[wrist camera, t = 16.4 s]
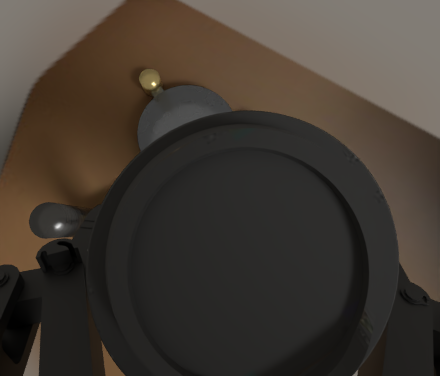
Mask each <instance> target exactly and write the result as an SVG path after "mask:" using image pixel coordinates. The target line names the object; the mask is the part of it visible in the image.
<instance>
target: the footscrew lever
mask: <svg viewBox="0 0 440 376" xmlns="http://www.w3.org/2000/svg"><path fill="white" fill-rule="evenodd" d="M91 210H92V209H90V208H83V207H77V206H70V205H64V204H57V203H51V202H47V203H43V204H40V205H38V206H37V207H36V208H35V209H34V210H33V211H32V213H31V215H30V219H29V225H30V228H31V230H32V232H33V233H34V234H35V235H36V236H38V237H40V238H62V237H74V236H75V234H76V233H77V231H78V229H80V226H81V225H82V223H83V222H84V220H85V218H86V216H87V215H88V213H89V212H90V211H91Z"/></svg>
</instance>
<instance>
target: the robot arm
mask: <svg viewBox="0 0 440 376" xmlns="http://www.w3.org/2000/svg"><path fill="white" fill-rule="evenodd" d="M100 207H101V205H97V206H96V207H95V208H93V209H92V210H91V211H90V212H89V213H88V215H87V216H86V218H85V220H84V222H83V223H82V225H81V226H80V229H78V231H77V233H76V234H75V236H74V237H73V239H72V240H71V239H65V238H64V239H57V240H54V241H51V242H49V243H47V244H46V245H44V246H43V247H42V248H41V249H40V250H39V251H38V253H37V256H36V259H37V261H38V263H39V265H40V267H41V268H39V269H34V270H28V271H23V272H19V270H18V268H17V267H15V266H13V265H1V266H0V376H23V374H24V371H25V368H26V364H27V361H28V358H29V355H30V352H31V349H32V346H33V343H34V339H35V336H36V333H37V329H38V327H39V324H40V322H41V338H40V361H39V376H105V368H104V360H103V351H102V343H101V338H100V336H99V334H98V331H97V329H96V326H95V323H94V320H93V317H92V314H91V310H90V305H89V300H88V294H87V285H86V262H87V252H88V245H89V240H90V236H91V232H92V228H93V225H94V222H95V219H96V216H97V214H98V211H99V209H100ZM357 376H440V302H437V301H434V300H432V299H430V297H429V296H428V294H427V293H426V292H425V291H424V290H423V289H422V288H420V287H419V286H417V285H415V284H414V283H411V282H410V281H409V279H408V277H407V275H406V274H405V272H404V270H403V268H402V266H401V264H400V263H399V274H398V284H397V290H396V295H395V299H394V303H393V307H392V310H391V313H390V316H389V319H388V322H387V324H386V326H385V329H384V331H383V333H382V335H381V337H380V339H379V340H378V342H377V344H376V346H375V347H374V349H373V350H372V352H371V353H370V355H369V356H368V358H367V359H366V360H365V362H364V363H363V364H362V365H361V367H360V368H359V369H358V375H357Z"/></svg>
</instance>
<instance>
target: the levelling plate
mask: <svg viewBox="0 0 440 376" xmlns="http://www.w3.org/2000/svg"><path fill="white" fill-rule="evenodd" d="M139 81H140V83H141V85H142V87H143V89H144V91H145V93H146V94H148V95H149V96H153V97H154V99H152V100H151V101H150V103H149V104H148V105H147V106H146V108H145V109H144V111H143V113H142V115H141V117H140V121H139V124H138V144H139V147H140V150H141V151H142V150H144V149H145V148H146V147H147V146H148V145H150V144H151V143H152V142H154V141H155V140H157V139H158V138H159V137H161V136H163V135H164V134H166V133H167V132H169V131H171V130H173V129H175V128H177V127H179V126H181V125H183V124H185V123H188V122H190V121H193V120H196V119H199V118H202V117H205V116H209V115H213V114H218V113H224V112H232V110H231V108H230V107H229V105H228V104H227V103H226V102H225V100H224V99H222V98H221V97H220V96H219V95H218V94H216V93H215V92H213V91H211V90H209V89H206V88H204V87H200V86H194V85H183V86H177V87H173V88H170V89H168V90H165V91H164V90H163V84H162V82H161V79H160V77H159V74H158V73H157V71H155V70H153V69H146V70H144V71H142V72H141V74H140V76H139Z"/></svg>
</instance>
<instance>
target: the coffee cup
mask: <svg viewBox="0 0 440 376" xmlns="http://www.w3.org/2000/svg"><path fill="white" fill-rule="evenodd" d="M398 274H399V251H398V241H397V235H396V230H395V225H394V221H393V218H392V215H391V212H390V209H389V206H388V204H387V201H386V199H385V197H384V195H383V193H382V191H381V189H380V187H379V185H378V184H377V182H376V180H375V179H374V177H373V176H372V174H371V173H370V172H369V170H368V169H367V168H366V166H365V165H364V164H363V163H362V162H361V161H360V160H359V158H358V157H357V156H356V155H355V154H354V153H353V152H352V151H351V150H349V149H348V148H347V147H346V146H345V145H344V144H342V143H341V142H340V141H339V140H337V139H336V138H334V137H333V136H331V135H330V134H328V133H327V132H325V131H323V130H321V129H320V128H318V127H316V126H314V125H312V124H309V123H307V122H305V121H302V120H299V119H296V118H293V117H290V116H286V115H282V114H277V113H272V112H264V111H232V112H224V113H218V114H213V115H209V116H205V117H202V118H199V119H196V120H193V121H190V122H188V123H185V124H183V125H181V126H179V127H177V128H175V129H173V130H171V131H169V132H167V133H166V134H164V135H163V136H161V137H159V138H158V139H157V140H155V141H154V142H152V143H151V144H150V145H148V146H147V147H146V148H145V149H144V150H142V151H141V152H140V153H139V154H138V155H137V156H136V157H135V158H134V159H133V160H132V161H131V162H130V163H129V164H128V165H127V166H126V167H125V169H124V170H123V171H122V172H121V174H120V175H119V176H118V178H117V179H116V180H115V182H114V183H113V185H112V186H111V188H110V190H109V191H108V193H107V195H106V197H105V198H104V200H103V202H102V204H101V207H100V209H99V211H98V214H97V216H96V219H95V222H94V225H93V228H92V232H91V236H90V240H89V245H88V252H87V262H86V285H87V294H88V300H89V305H90V310H91V314H92V317H93V320H94V323H95V326H96V329H97V331H98V334H99V336H100V338H101V340H102V342H103V344H104V346H105V348H106V350H107V351H108V353H109V355H110V356H111V357H112V359H113V361H114V362H115V363H116V365H117V366H118V367H119V369H120V370H121V371H122V372H123V373H124V374H125V376H352V375H353V374H354V373H355V372H356V371H357V370H358V369H359V368H360V367H361V365H362V364H363V363H364V362H365V360H366V359H367V358H368V356H369V355H370V353H371V352H372V350H373V349H374V347H375V346H376V344H377V342H378V340H379V339H380V337H381V335H382V333H383V331H384V329H385V326H386V324H387V322H388V319H389V316H390V313H391V310H392V307H393V303H394V299H395V295H396V290H397V284H398Z"/></svg>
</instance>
